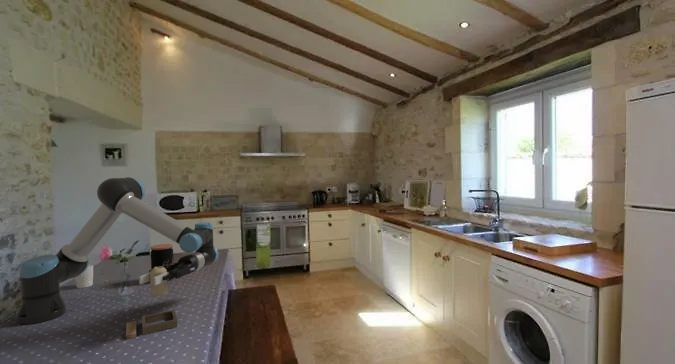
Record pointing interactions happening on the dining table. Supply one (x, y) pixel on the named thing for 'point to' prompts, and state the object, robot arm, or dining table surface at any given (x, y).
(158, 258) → the coffee jar
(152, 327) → the wooden tray
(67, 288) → the dining table surface
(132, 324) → the strip
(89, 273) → the white cup
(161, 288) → the candle
